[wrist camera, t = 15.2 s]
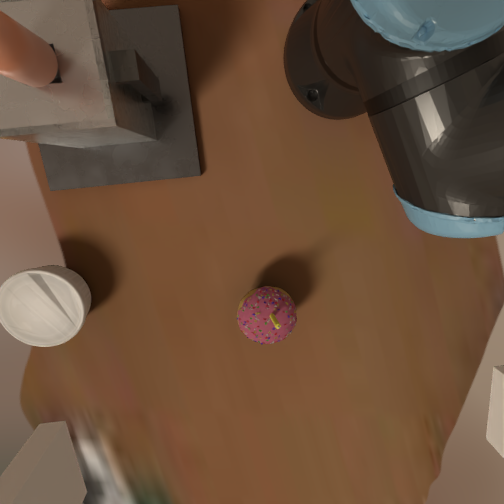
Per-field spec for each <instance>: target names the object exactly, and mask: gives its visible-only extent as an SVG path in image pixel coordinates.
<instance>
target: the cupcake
mask: <svg viewBox="0 0 504 504" xmlns="http://www.w3.org/2000/svg"><path fill="white" fill-rule="evenodd" d="M237 319H238V324H239V326H240V329H241V331H242V332H243V333H244V334H245V335H246V336H247V338H249V339H251V340H253V341H255V342H259V343H261V344H263V343H264V344H272V343H275V342H278V341H281V340H283V339H285V338H286V337H287V336H288V335H289V333H290V332H292V329H293V328H294V326H296V321H297V318H296V306H295V304H294V302H293V300H292V298H291V297H290V295H289V294H288V293H286V292H285V291H284V290H282V289H281V288H278V287H271V286H264V287H261V288H257V289H253V290H251V291H250V292H249V293H248V294H246V295H245V296H244V297H243V298H242V300H241V302H240V304H239V308H238V312H237Z"/></svg>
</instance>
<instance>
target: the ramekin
mask: <svg viewBox="0 0 504 504" xmlns="http://www.w3.org/2000/svg"><path fill="white" fill-rule="evenodd" d="M90 306H91V293H90V289H89V287H88V285H87V284H86V282H85V281H84V279H83V278H82V277H81V276H80V275H79V274H77V273H76V272H74V271H72V270H70V269H68V268H65V267H62V266H55V265H51V266H42V267H39V268H32V269H27V270H23V271H20V272H18V273H16V274H14V275H13V276H11V277H10V278H8V279H7V280H6V281H5V282H4V283H3V284H2V286H1V287H0V322H1V324H2V325H3V327H4V328H5V329H6V330H7V331H8V332H9V333H10V334H11V335H12V336H14V337H15V338H16V339H18V340H20V341H22V342H24V343H26V344H30V345H34V346H40V347H49V346H55V345H59V344H62V343H64V342H66V341H68V340H70V339H71V338H72V337H74V336H75V335H76V334H77V333H78V332H79V330H80V329H81V328H82V326H83V324H84V322H85V320H86V316H87V314H88V312H89V309H90Z"/></svg>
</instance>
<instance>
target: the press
mask: <svg viewBox="0 0 504 504" xmlns="http://www.w3.org/2000/svg"><path fill="white" fill-rule="evenodd" d="M0 10H1V11H2V12H3V13H5V14H6V15H8V16H9V17H11V18H12V19H14V20H15V21H17V22H18V23H20V24H21V25H23V26H24V27H26V28H27V29H29V30H30V31H31V32H33V33H34V34H36V35H37V36H39V37H40V38H42V39H43V40H45V41H46V42H47V43H48V44H49V45H50V46H51V47H52V49H53V51H54V52H55V55H56V58H57V62H58V67H59V71H60V76H61V80H62V83H55V82H53V81H52V82H51V83H49V84H48V85H46V86H43V87H32V86H28V85H26V84H23V83H21V82H18V81H16V80H13V79H11V78H8V77H6V76H3V75H1V74H0V138H1V139H10V140H18V141H26V142H34V143H38V144H39V148H40V152H41V156H42V160H43V164H44V168H45V172H46V176H47V180H48V183H49V187H50V191H55V190H64V189H74V188H84V187H94V186H104V185H113V184H123V183H133V182H143V181H153V180H162V179H172V178H182V177H192V176H201V169H200V162H199V154H198V147H197V139H196V132H195V125H194V117H193V110H192V102H191V95H190V87H189V80H188V73H187V65H186V58H185V50H184V43H183V35H182V28H181V20H180V13H179V7H178V5H167V6H155V7H143V8H131V9H119V10H108V9H107V8H106V7H105V5H104V4H103V3H102V1H101V0H0Z"/></svg>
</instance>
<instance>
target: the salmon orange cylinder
mask: <svg viewBox="0 0 504 504" xmlns="http://www.w3.org/2000/svg"><path fill="white" fill-rule="evenodd" d="M0 74H1V75H3V76H6V77H8V78H11V79H13V80H16V81H18V82H21V83H23V84H26V85H28V86H32V87H43V86H46V85H48V84H49V83H51V82H52V81H53V82H55V83H62V80H61V76H60V71H59V67H58V62H57V58H56V55H55V52H54V51H53V49H52V47H51V46H50V45H49V44H48V43H47V42H46V41H45V40H43V39H42V38H40V37H39V36H37V35H36V34H34V33H33V32H31V31H30V30H29V29H27V28H26V27H24V26H23V25H21V24H20V23H18V22H17V21H15V20H14V19H12V18H11V17H9V16H8V15H6V14H5V13H3V12H2V11H1V10H0Z"/></svg>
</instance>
